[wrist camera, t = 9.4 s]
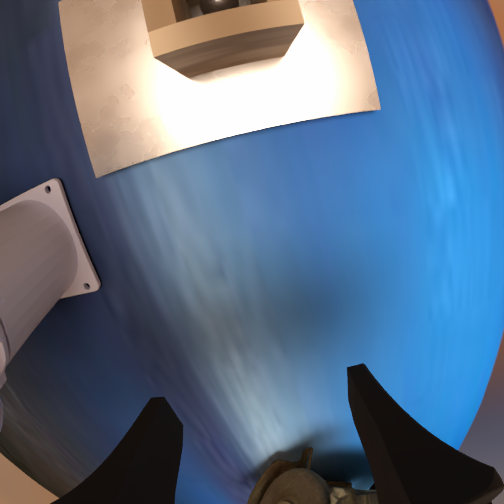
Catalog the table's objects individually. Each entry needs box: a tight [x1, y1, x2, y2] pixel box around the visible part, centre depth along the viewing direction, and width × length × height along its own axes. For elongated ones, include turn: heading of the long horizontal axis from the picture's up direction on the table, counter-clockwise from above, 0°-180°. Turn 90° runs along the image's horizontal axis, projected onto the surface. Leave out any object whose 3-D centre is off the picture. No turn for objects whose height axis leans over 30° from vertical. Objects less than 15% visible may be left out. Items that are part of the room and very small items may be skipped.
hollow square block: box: [141, 0, 305, 78], centre depth 10 cm, size 5×5×6 cm
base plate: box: [59, 0, 381, 178], centre depth 11 cm, size 16×12×5 cm
